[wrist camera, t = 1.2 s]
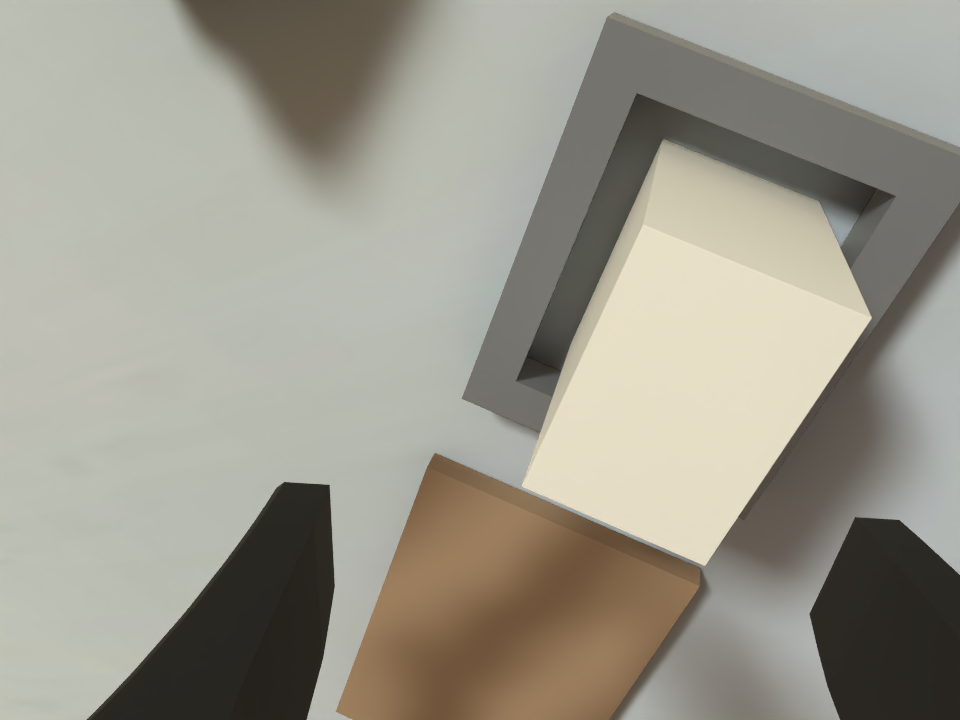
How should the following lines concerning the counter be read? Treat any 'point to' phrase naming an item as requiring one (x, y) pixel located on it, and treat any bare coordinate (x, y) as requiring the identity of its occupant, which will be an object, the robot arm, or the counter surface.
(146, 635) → the counter surface
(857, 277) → the grey picture frame
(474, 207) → the counter surface
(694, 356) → the plug
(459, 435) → the counter surface
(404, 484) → the counter surface
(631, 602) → the walnut board
